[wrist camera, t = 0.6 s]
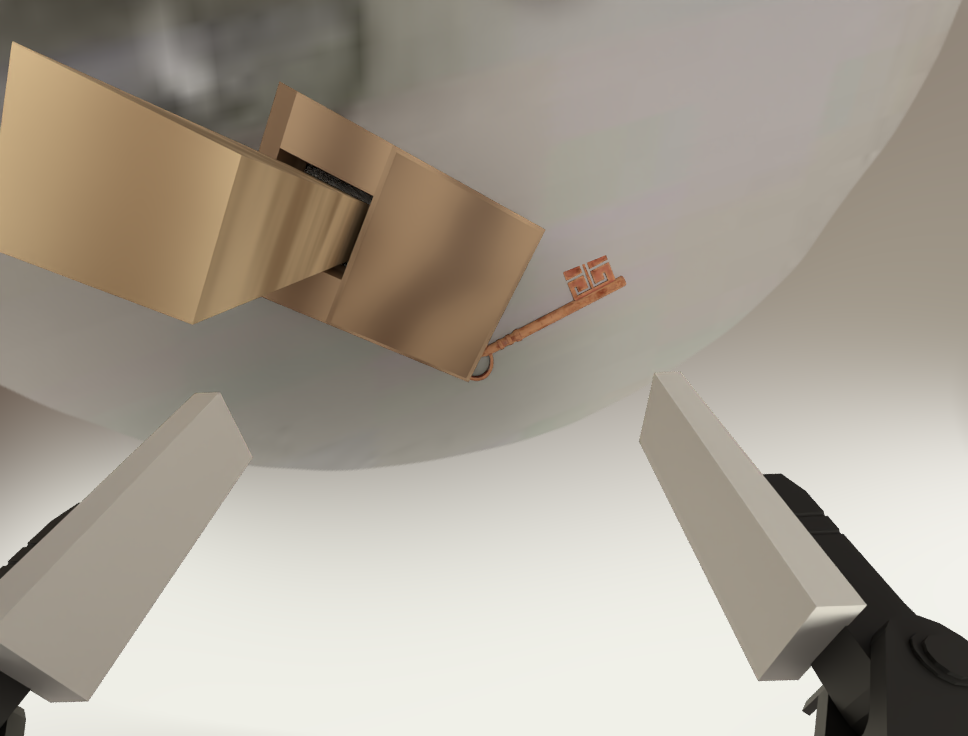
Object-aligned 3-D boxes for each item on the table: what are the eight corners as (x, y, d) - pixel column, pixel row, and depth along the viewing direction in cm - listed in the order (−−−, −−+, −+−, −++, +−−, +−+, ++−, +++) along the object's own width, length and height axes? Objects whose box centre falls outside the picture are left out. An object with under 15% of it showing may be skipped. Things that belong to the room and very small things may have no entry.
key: (603, 235, 30) (433, 324, 31) (608, 234, 30) (432, 326, 30) (629, 302, 32) (467, 386, 32) (634, 303, 31) (467, 389, 32)
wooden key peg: (293, 233, 27) (-16, 246, 8) (313, 176, 26) (12, 41, 7) (350, 259, 28) (192, 324, 9) (371, 205, 27) (241, 154, 8)
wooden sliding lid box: (255, 270, 27) (216, 280, 22) (307, 109, 25) (276, 78, 20) (462, 359, 31) (469, 384, 26) (526, 229, 29) (547, 229, 24)
